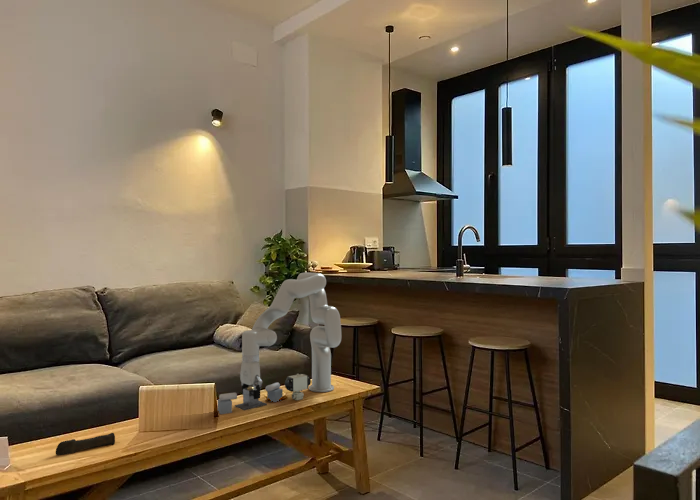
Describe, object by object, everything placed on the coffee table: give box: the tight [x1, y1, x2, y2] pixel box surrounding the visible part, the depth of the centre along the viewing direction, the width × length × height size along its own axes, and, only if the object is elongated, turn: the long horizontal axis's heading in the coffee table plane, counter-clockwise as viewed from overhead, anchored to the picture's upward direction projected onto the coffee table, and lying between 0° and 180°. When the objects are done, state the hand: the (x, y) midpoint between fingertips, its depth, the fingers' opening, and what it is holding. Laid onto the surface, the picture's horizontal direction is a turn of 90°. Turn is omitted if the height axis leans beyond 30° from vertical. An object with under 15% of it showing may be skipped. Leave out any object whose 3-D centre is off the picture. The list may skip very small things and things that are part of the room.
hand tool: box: [55, 432, 116, 456], centre depth 187 cm, size 19×4×5 cm, turn 126°
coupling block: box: [242, 386, 260, 407], centre depth 238 cm, size 5×5×8 cm
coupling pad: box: [234, 400, 268, 411], centre depth 238 cm, size 12×8×1 cm, turn 132°
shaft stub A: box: [265, 382, 284, 403], centre depth 245 cm, size 8×5×8 cm, turn 147°
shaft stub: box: [217, 392, 238, 415], centre depth 230 cm, size 8×5×8 cm, turn 117°
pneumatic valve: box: [284, 373, 312, 401], centre depth 248 cm, size 6×12×12 cm, turn 127°
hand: (251, 396), depth 238 cm, fingers open, 9 cm apart
